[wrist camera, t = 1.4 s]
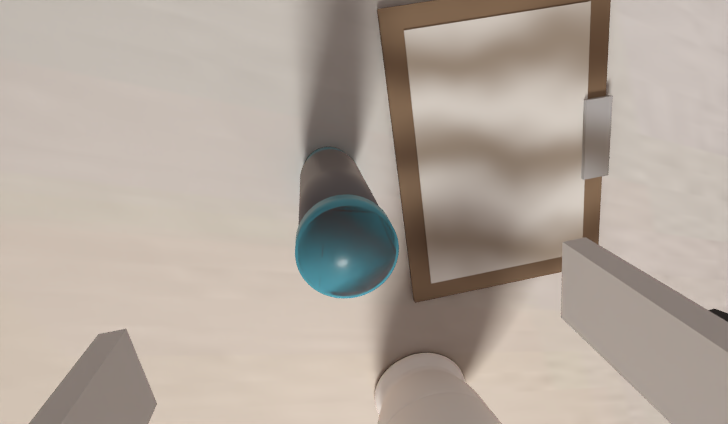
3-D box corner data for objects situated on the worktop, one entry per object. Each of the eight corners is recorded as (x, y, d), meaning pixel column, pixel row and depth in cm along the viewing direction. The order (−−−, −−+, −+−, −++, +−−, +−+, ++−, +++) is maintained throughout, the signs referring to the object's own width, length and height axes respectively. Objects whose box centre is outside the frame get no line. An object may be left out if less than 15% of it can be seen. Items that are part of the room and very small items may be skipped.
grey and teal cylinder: (293, 148, 29) (284, 214, 16) (352, 138, 29) (391, 194, 16) (305, 204, 30) (306, 307, 17) (361, 193, 31) (404, 287, 18)
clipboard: (377, 9, 27) (379, 7, 26) (610, -26, 28) (619, -29, 27) (413, 300, 34) (416, 305, 34) (596, 261, 36) (603, 266, 35)
